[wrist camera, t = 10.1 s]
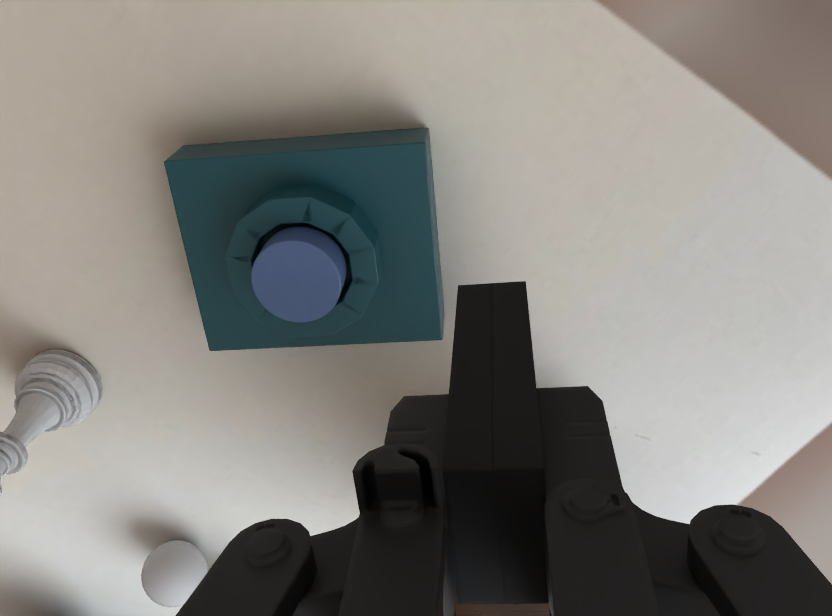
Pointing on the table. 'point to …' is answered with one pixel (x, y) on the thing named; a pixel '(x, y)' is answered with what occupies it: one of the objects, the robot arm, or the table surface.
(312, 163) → the push button block
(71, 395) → the chess piece
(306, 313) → the blue push button
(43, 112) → the table surface
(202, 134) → the table surface
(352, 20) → the table surface
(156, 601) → the figurine
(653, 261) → the table surface
